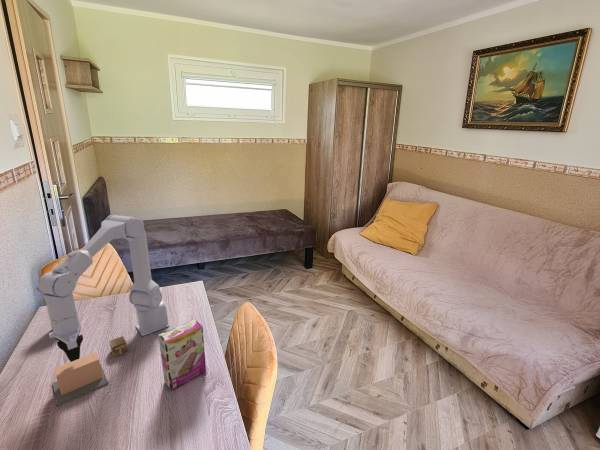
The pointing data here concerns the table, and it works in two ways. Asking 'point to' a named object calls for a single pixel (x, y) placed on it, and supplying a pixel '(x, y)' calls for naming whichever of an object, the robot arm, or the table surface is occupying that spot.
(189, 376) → the candy bar box
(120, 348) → the brown cube
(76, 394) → the mat
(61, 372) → the block
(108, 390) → the table surface
